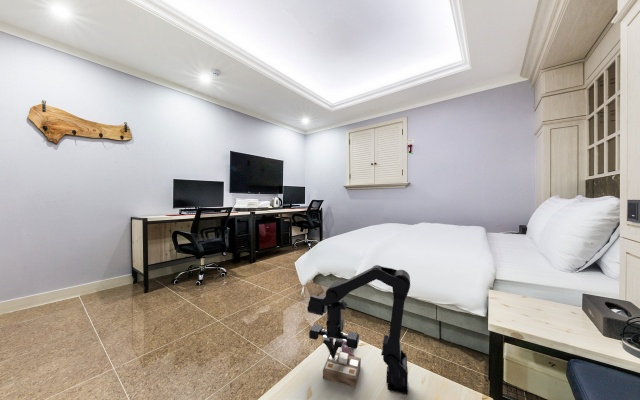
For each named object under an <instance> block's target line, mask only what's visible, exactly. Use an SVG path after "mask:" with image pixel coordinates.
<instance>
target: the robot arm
mask: <svg viewBox="0 0 640 400" xmlns="http://www.w3.org/2000/svg"><path fill="white" fill-rule="evenodd" d="M375 280H377V281H380V282H382V284H385V285H386V286H389V287H391V288H392V296H393V301H392V302H393V303H392V311H391V318H390V325H389V326H390V327H389V333H388V335H387V334H385V333H384V334H383V341H382V347H381V354H380V355H381V356H382V359H383V362H384V363H385V365H387V366H386V379H385V380H386V383H387V389H388V390H390V391H393V392H397V393H401V394H403V395H408V394H409V390H408V387H409V385H408V379H409V377H408V376H409V373H408V372H409V371H408V357H407V355H406V353H405V352H404V351H403V350H402V343H401V331H402V323H403V316H404V315H403V314H404V310H405V309H404V308H405V302H406V299H407V297H408V294H409V292H410V289H411V277H410V274H409V273H408V272H407V270H404V269H395V268H391V267H386V266H381V265H378V264H375V265H373V266H372V267H371V268H368V269H366V270H364V271H363V272H360V273H358V274H356V275H354V276H352V277H351V278H349V279H346V280H345V279H344V280H338V281H336V282H335V281H334V282H333V283H332V284H330V286H329V287H328V288H327V289H326V291H325V295H324V296H318V295H316V294H311V295H310V297H309V301H308V303H307V304H308V305H307V313H308V314H313V315H318V316H322V317H323V315H325V314H326V322H325V324H326V329H324V326H323V325H321V324H315V323H314V324H313V325H312V326H311V328H310V329H309V331H308V338H309V339H311V340H315V341H316V340H317V339H319V336H323V341H322V343H323V344H324V345H325V346H326V348H327V350H328V352H329V354H331V356H332V358H335V355H336V352H337V353H338V350H339V348H341V347H342V345H343V342H344V341H346V345H347V346H348V347H349V349H354V350H356V349H358V347H359V342H360V334H359V333H358V332H354V331H348V334H345V333H344V327H345V318H343V310H344V311H345V310H346V309H347V307H348V303H346V302H345V300H344V299H343V298H345V296H347V295H348V294H349V293H351V292H353V291H355V290H357V289H359V288H361V287H363V286H365V285H367V284H370V283H372V282H373V281H375ZM334 340H335V341H334Z"/></svg>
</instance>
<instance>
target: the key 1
mask: <svg viewBox="0 0 640 400" xmlns="http://www.w3.org/2000/svg"><path fill="white" fill-rule="evenodd" d="M329 354H330V353H329ZM328 357H329V356H328ZM337 360H338V356H337V355H335V358H332V356H331V354H330V357H329V361H333V362H337Z"/></svg>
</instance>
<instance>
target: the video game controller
mask: <svg viewBox="0 0 640 400" xmlns="http://www.w3.org/2000/svg"><path fill="white" fill-rule="evenodd" d="M340 348H341V352H343V353H347V354H348V355H349V356H354V357H356V356H355V355H354V354H353V353H352V352H351V350H350V348H349V347H348V346H347V345H346V341H344V342H343V345H342V347H340Z"/></svg>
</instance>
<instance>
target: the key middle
mask: <svg viewBox="0 0 640 400" xmlns="http://www.w3.org/2000/svg"><path fill="white" fill-rule="evenodd" d="M339 353H340V355H339V363H341V364H345V365H347V363H348V354H347V353H343V352H342V351H340V352H339Z"/></svg>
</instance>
